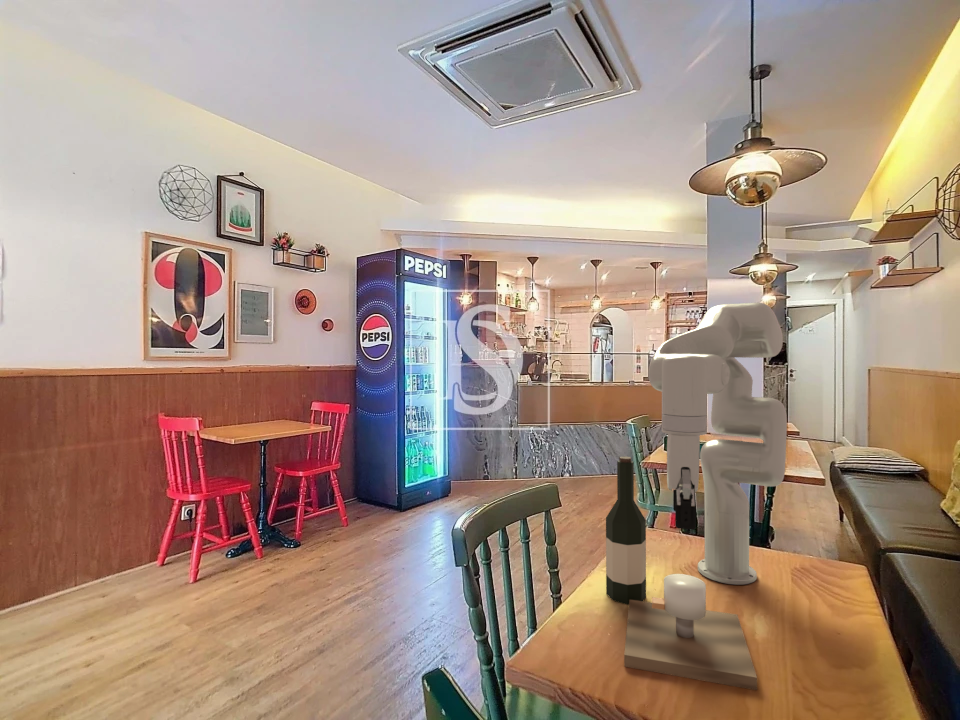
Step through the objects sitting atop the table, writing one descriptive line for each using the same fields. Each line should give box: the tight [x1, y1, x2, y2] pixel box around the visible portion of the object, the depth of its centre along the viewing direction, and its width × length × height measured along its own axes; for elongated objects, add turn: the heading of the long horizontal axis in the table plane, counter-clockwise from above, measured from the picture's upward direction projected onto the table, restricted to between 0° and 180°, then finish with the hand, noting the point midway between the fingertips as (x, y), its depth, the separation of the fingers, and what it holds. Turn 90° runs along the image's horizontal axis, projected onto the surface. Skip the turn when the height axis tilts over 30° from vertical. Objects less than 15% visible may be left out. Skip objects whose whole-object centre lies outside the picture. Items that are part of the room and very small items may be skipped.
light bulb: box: [651, 573, 707, 620], centre depth 94 cm, size 7×9×5 cm
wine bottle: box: [605, 456, 647, 606], centre depth 112 cm, size 8×8×30 cm
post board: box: [623, 600, 758, 691], centre depth 93 cm, size 20×20×6 cm
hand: (683, 519), depth 93 cm, fingers open, 9 cm apart
